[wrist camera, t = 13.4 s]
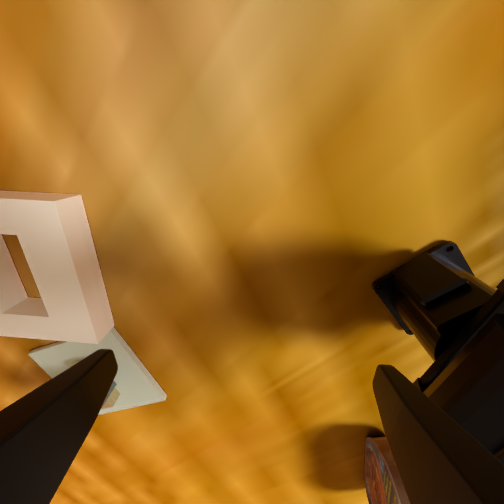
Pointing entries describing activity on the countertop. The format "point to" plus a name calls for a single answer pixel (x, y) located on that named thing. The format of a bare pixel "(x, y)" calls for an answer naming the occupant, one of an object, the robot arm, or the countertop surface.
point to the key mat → (128, 375)
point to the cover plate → (52, 270)
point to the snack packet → (382, 474)
